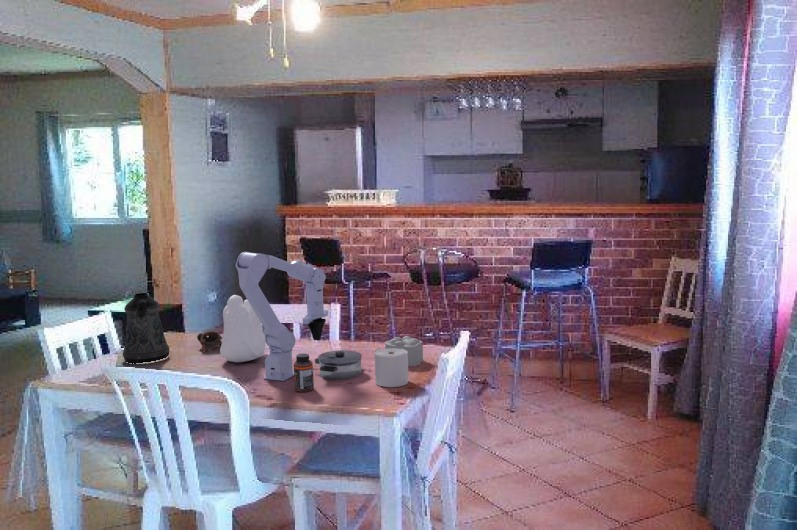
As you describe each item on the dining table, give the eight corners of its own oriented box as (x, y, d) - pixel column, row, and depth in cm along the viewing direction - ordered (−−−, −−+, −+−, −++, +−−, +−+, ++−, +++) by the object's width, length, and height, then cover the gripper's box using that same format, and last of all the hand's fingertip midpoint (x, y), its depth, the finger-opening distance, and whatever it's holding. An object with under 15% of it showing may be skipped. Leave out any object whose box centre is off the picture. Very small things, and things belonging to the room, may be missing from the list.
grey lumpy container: (414, 367, 246) (414, 343, 245) (380, 364, 251) (379, 340, 250) (425, 359, 255) (424, 336, 254) (392, 357, 260) (391, 333, 259)
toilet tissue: (400, 389, 223) (399, 358, 222) (366, 385, 228) (364, 354, 227) (414, 379, 233) (413, 349, 231) (381, 376, 238) (379, 346, 236)
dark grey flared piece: (157, 351, 280) (152, 288, 276) (181, 359, 266) (176, 293, 263) (115, 360, 269) (110, 294, 265) (139, 369, 255) (133, 300, 251)
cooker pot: (346, 383, 230) (345, 368, 230) (303, 379, 237) (303, 364, 236) (371, 367, 248) (370, 353, 247) (330, 364, 254) (330, 350, 253)
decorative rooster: (246, 369, 251) (242, 299, 247) (210, 365, 257) (205, 297, 254) (286, 351, 273) (283, 287, 270) (252, 348, 280) (248, 285, 276)
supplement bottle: (293, 388, 227) (291, 353, 226) (311, 385, 229) (309, 351, 228) (297, 393, 222) (295, 358, 220) (316, 391, 224) (314, 355, 222)
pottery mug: (229, 347, 284) (226, 332, 279) (215, 363, 277) (211, 348, 272) (205, 338, 288) (202, 323, 283) (190, 353, 281) (186, 338, 276)
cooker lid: (349, 367, 232) (349, 360, 231) (309, 363, 237) (309, 356, 237) (368, 355, 245) (368, 348, 244) (330, 352, 251) (330, 345, 250)
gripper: (314, 306, 240) (316, 345, 242) (335, 298, 254) (336, 335, 256) (296, 305, 243) (298, 344, 245) (317, 297, 256) (319, 334, 258)
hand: (316, 339), depth 250 cm, fingers closed
